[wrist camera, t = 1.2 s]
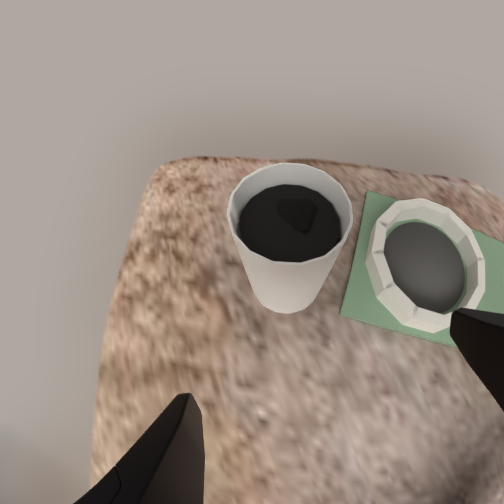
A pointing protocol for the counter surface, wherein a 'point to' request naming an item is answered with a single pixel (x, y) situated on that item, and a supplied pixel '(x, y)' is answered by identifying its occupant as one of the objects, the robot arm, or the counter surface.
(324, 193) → the white coffee cup
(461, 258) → the practice green
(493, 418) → the counter surface
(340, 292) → the counter surface
